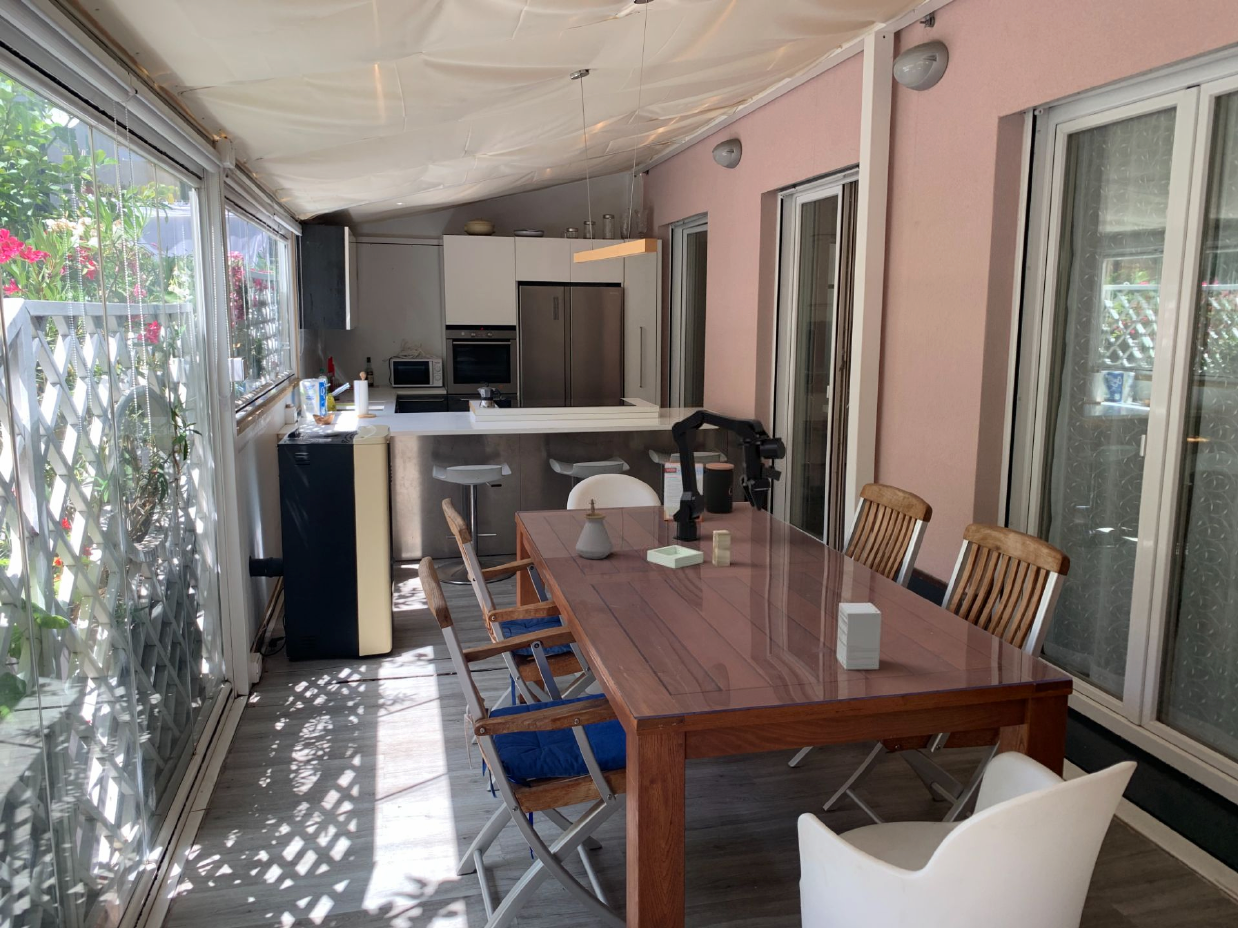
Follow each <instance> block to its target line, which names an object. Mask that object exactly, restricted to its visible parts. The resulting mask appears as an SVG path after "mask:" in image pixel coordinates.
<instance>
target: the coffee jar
mask: <svg viewBox="0 0 1238 928" xmlns="http://www.w3.org/2000/svg"><path fill="white" fill-rule="evenodd" d="M705 467H706V471H705V484H704V486H705V488H704V495H705V504H706V506H705V511H706V513H708V514H709V513H710V514H718V515H724V514H730V513H732V510H733V507H734V506H733V505H734V503H733V502H734V475H735V473H734V467H735V465H734V464H731V463H725V462H709V463H706V464H705Z"/></svg>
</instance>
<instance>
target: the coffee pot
mask: <svg viewBox="0 0 1238 928" xmlns="http://www.w3.org/2000/svg"><path fill="white" fill-rule="evenodd" d="M596 503H597V501H596V500H595V499H592V498H591V499H590V500H589V502H588V504H589V505H590V511H591V513H586V514H584V515H583V517H584V518H585V525H583V526H584V527H583V529H582V530H581V531H582V532H581V533H580V536H579V539H578V540H577V543H576V545H575V549H576V551H577V553H578V554H579V555H581V557H582V558H585V559H589V560H596V559H597V560H598V559H605V558H606V557H607V556H608V555H609V554H611V552H612V550H613V549H614V548H613V547H614V546H613V543H612V541H611V538H610V535H609V533H608V532H607V528H606V526H605V523H604V520H605V518H606V517H607V514H604V513H597V512H596V511H595V505H596Z"/></svg>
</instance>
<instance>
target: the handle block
mask: <svg viewBox="0 0 1238 928" xmlns="http://www.w3.org/2000/svg"><path fill="white" fill-rule="evenodd" d="M712 532H713V533H712V534H713V535H712V536H713V537H712V564H713V565H714V566H716V567H730V563H731V562H730V561H731V559H730V558H731V538H732V537H731V536H732V535H731V532H729V531H728V530H725V529H724V530H713V531H712Z"/></svg>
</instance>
